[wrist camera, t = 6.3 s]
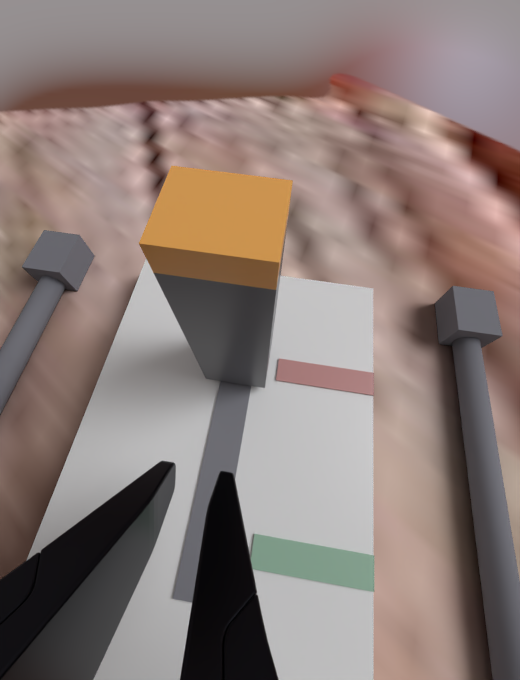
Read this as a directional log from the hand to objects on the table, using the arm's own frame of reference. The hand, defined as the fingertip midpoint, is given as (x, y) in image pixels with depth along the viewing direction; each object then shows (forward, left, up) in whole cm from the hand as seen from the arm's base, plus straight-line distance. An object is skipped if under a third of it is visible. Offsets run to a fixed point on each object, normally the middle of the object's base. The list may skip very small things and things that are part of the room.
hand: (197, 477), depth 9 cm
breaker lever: (+4, +4, -5) cm, 8 cm away
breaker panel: (+1, +1, -7) cm, 8 cm away
